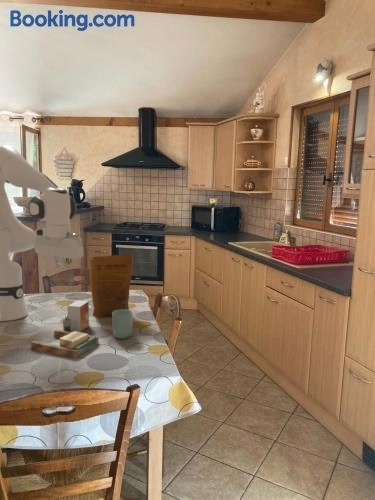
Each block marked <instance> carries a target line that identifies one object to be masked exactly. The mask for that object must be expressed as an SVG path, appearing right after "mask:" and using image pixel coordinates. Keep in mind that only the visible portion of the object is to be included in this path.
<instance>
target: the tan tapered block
mask: <svg viewBox="0 0 375 500" xmlns="http://www.w3.org/2000/svg"><path fill="white" fill-rule="evenodd" d="M88 335H89V334H88V333H85V332H82V331H81V332H79V331H73V332H72V333H70V334H68V335H66V336H64V337H61V338H59V346H62V347H67V348H72V349H74V347H76V346H78V345H79V344H81V343H83V342H84V341H86V340H88Z"/></svg>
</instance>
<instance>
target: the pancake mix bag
mask: <svg viewBox="0 0 375 500" xmlns="http://www.w3.org/2000/svg"><path fill="white" fill-rule="evenodd" d="M133 260H134V255H132V254H113V255H102V256H92V259H91V258H90V259H89V265H88V267H89V283H90V290H91V291H90V292H91V300H92V306H93V311H92V312H93V313H92V316H94V317H97V318H109V317H112V312H113V311H115V310H120V309H127V310H130V309H129V299H130V286H131V281H132V272H133V271H132V270H133V262H134V261H133Z"/></svg>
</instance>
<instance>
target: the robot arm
mask: <svg viewBox="0 0 375 500" xmlns="http://www.w3.org/2000/svg"><path fill="white" fill-rule="evenodd" d="M5 184H10V185H12V186H14V187H18V188H22V189H30V190H35V191H38V192H41V194H39V195H36V196H33V197H32V198H31V199H30V201H29V203H28V213H29V216H31V217H32V218H33V219H34V220H36V221H40V222H43V221H45V226H44V227H42V228H38V229H37V228H36V229H35V230H33V229H32V228H31V227H29V226H26V225H25V224H23V222H21V220H19V219H18V217H17V216H16V215H15V213H14V211H13V209H12V206H11V204H10V200H9V197H8V195H7V192H6V189H5ZM77 210H78V205H77V202H76V200H75V199H74V198H73V196H71V195H70V194H69V191H68V190H67V189H65V188H62V187H59V186H58V185H57V184H56V183H55V182H53V181H52V179H50V177H48V176H47V175H46V174H45V173H43V172H41V171H39V170H38V169H37V168H35V167H34V166H32V165H31V164H30V163H29V162H28V161H27V160H26V158H25V157H24V156H23V155H22V154H21V153H20V151H18V150H16V149H15V148H14V147H12V146H11V145H2V146H0V322H5V321H8V322H9V321H14V320H15V321H16V320H19V319H23V318H24V317H27V316H28V315H29V313H28V307H27V304H26V301H25V300H26V299H25V294H24V292H25V285H24V282H23V268H22V266H21V265H20V264H19V263H18V262H16V261H14V260H11V259H10V257H9V254H13V253H15V254H16V253H22V252H27V251H29V250H32V249H34V252H35V253H36V254H37V255H44V256H51V260H52V261H53V264H54V266H53V267H54V269H55V268H56V269H64V267H65V265H64V264H65V262H66V261H67V259H73V260H80V259H82V258H83V257H84V247H83V238H82V236H80V234H78V233H72V228H71V227H72V224H71V223H72V222H71V220H72V219H73V218H74V217H75V215H76V213H77ZM59 260H60V261H59Z"/></svg>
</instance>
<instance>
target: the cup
mask: <svg viewBox="0 0 375 500" xmlns="http://www.w3.org/2000/svg"><path fill="white" fill-rule="evenodd" d="M133 316H134V315H133V311H132V310H131V309H129V310H127V309H120V310H115V311H113V312H112V316H111V317H112V318H111V320H112V321H111V325H112V326H111V327H112V333H113V335H114V337H115V338H117V339H121V340H122V339H123V340H125V339H128V338H129V337H130V336H131V335H132V332H133Z"/></svg>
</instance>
